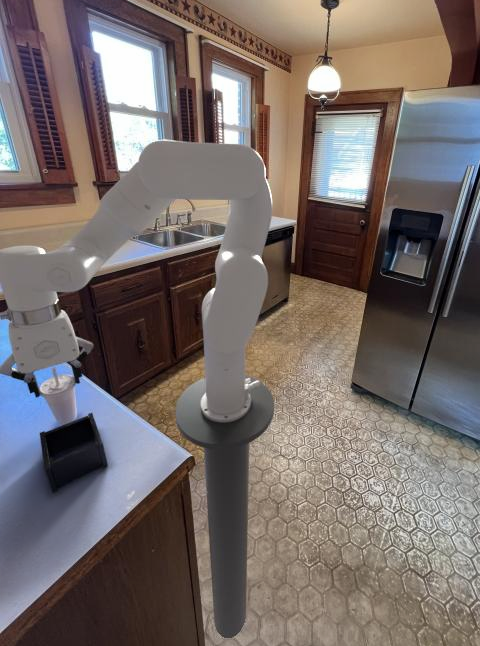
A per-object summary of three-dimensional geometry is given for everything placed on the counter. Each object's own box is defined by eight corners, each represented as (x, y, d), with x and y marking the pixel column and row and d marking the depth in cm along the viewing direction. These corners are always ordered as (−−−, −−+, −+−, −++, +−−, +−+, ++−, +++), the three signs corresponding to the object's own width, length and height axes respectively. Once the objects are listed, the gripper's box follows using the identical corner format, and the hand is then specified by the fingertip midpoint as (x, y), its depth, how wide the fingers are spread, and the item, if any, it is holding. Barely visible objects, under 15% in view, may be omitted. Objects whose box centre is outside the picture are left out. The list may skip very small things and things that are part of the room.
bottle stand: (97, 433, 68) (92, 412, 65) (108, 465, 61) (102, 443, 59) (46, 454, 62) (39, 432, 60) (52, 493, 56) (44, 470, 53)
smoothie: (56, 434, 66) (39, 381, 60) (45, 419, 69) (28, 367, 63) (89, 416, 70) (76, 366, 65) (76, 403, 74) (63, 354, 68)
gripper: (-27, 333, 51) (5, 415, 58) (92, 307, 62) (107, 380, 69) (-25, 315, 56) (5, 393, 64) (85, 295, 67) (99, 363, 74)
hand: (57, 386), depth 66 cm, fingers closed on smoothie, 6 cm apart
